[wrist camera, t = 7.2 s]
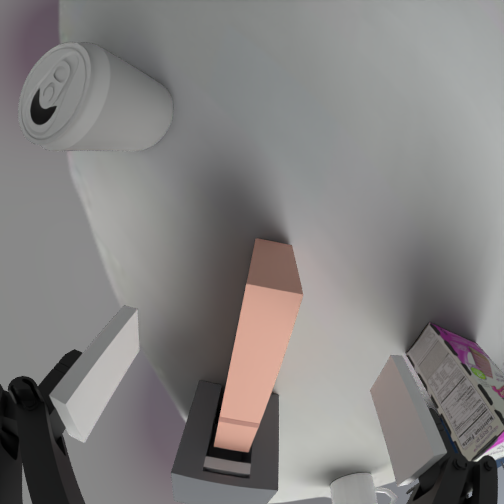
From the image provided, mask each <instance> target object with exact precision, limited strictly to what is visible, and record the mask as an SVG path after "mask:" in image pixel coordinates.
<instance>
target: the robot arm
mask: <svg viewBox="0 0 504 504" xmlns="http://www.w3.org/2000/svg"><path fill="white" fill-rule="evenodd" d="M138 352H139V333H138V309H136V308H132V307H129V306H126V305H124V306H123V307H122V308H121V309H120V310H119V312H118V313H117V314H116V315H115V316H114V317H113V318H112V320H111V321H110V322H109V323H108V324H107V325H106V326H105V328H104V329H103V330H102V331H101V332H100V333H99V335H98V336H97V337H96V338H95V339H94V340H93V341H92V343H91V344H90V345H89V346H88V348H87V349H86V350H85V351H84V352H83V353H82V352H80V351H77V350H75V349H74V350H72V351H71V352H69V353H67V354H65V356H63V357H62V359H61V360H60V361H59V363H57V364H56V366H55V367H54V369H52V370H51V371H50V373H49V374H48V375H47V376H46V377H45V379H44V380H43V381H42V382H41V383H40V385H39V386H37V384H36V383H35V381H34V380H33V379H31V378H29V377H25V376H21V377H17V378H15V379H13V380H12V381H11V383H10V384H9V386H8V391H9V392H7V391H4V390H3V388H2V386H1V384H0V504H23V503H22V463H23V467H24V473H25V477H26V481H27V485H28V490H29V493H30V497H31V500H32V504H85V502H84V500H83V497H82V495H81V492H80V489H79V487H78V484H77V481H76V478H75V475H74V472H73V469H72V466H71V462H70V459H69V456H68V452H67V448H66V445H65V441H64V437H63V435H62V433H63V432H64V430H65V429H66V430H67V432H68V433H69V435H70V436H72V437H74V438H76V439H78V440H80V441H82V442H84V443H85V441H86V440H87V438H88V436H89V434H90V432H91V431H92V429H93V427H94V425H95V424H96V422H97V420H98V418H99V417H100V415H101V413H102V411H103V410H104V408H105V406H106V405H107V403H108V401H109V400H110V398H111V396H112V395H113V393H114V391H115V389H116V388H117V386H118V384H119V383H120V381H121V380H122V378H123V376H124V375H125V373H126V371H127V370H128V368H129V366H130V365H131V363H132V362H133V360H134V358H135V357H136V355H137V354H138ZM370 392H371V395H372V398H373V401H374V405H375V408H376V411H377V414H378V417H379V421H380V424H381V427H382V431H383V434H384V438H385V441H386V445H387V449H388V452H389V456H390V460H391V463H392V467H393V471H394V475H395V479H396V483H397V486H402V485H407V484H411V483H412V482H413V481H414V480H416V479H417V478H418V479H419V483H418V484H416V485H415V486H414V487H412V488H411V489H409V490H408V491H407V494H408V493H410V492H411V491H413V492H412V494H411V496H410V498H409V500H408V502H407V504H497V497H498V479H497V478H498V476H497V463H496V461H495V459H494V458H493V457H492V456H489V455H485V456H483V457H482V458H481V459H480V460H479V461H468V460H467V459H466V457H465V456H464V455H462V454H459V453H455V452H454V449H453V447H452V445H451V442H450V440H449V438H448V435H447V433H446V431H444V426H443V424H442V422H441V420H440V418H439V416H438V414H437V413H436V412H435V411H434V410H433V409H432V408H429V409H428V407H427V405H426V402H425V400H424V398H423V396H422V394H421V392H420V390H419V388H418V386H417V384H416V382H415V380H414V378H413V376H412V374H411V372H410V370H409V368H408V366H407V364H406V362H405V360H404V358H403V357H402V356H399V355H390V357H389V359H388V361H387V363H386V364H385V366H384V368H383V370H382V371H381V373H380V375H379V376H378V378H377V380H376V381H375V383H374V385H373V386H372V388H371V390H370ZM471 491H472V496H471V497H470V498H469V496H468V495H469V493H470V492H471Z"/></svg>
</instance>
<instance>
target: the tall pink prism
mask: <svg viewBox="0 0 504 504" xmlns="http://www.w3.org/2000/svg"><path fill="white" fill-rule="evenodd" d="M302 297H303V291H302V287H301V282H300V278H299V274H298V269H297V265H296V261H295V256H294V252H293V248H292V245H288V244H283V243H278V242H273V241H268V240H263V239H258V238H256V239H255V244H254V249H253V254H252V259H251V264H250V268H249V273H248V278H247V283H246V288H245V293H244V298H243V303H242V308H241V313H240V318H239V323H238V328H237V333H236V338H235V343H234V348H233V353H232V358H231V362H230V367H229V372H228V377H227V382H226V387H225V392H224V397H223V401H222V406H221V411H220V416H219V422H218V427H217V432H216V437H215V442H214V447H219V448H224V449H229V450H235V451H242V452H249V449H250V447H251V445H252V442H253V440H254V437H255V435H256V432H257V430H258V428H259V425H260V422H261V419H262V417H263V414H264V411H265V409H266V406H267V403H268V400H269V398H270V395H271V392H272V389H273V387H274V384H275V381H276V378H277V375H278V372H279V370H280V367H281V364H282V361H283V358H284V355H285V352H286V349H287V346H288V343H289V339H290V336H291V333H292V330H293V327H294V324H295V321H296V317H297V314H298V311H299V307H300V304H301V301H302Z"/></svg>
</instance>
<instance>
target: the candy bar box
mask: <svg viewBox="0 0 504 504" xmlns="http://www.w3.org/2000/svg"><path fill="white" fill-rule="evenodd" d="M406 356H407V357H408V359H409V361H410V362H411V364H412V366H413V367H414V369H415V371H416V373H417V374H418V376H419V378H420V380H421V381H422V383H423V385H424V387H425V388H426V390H427V392H428V394H429V396H430V398H431V399H432V401H433V403H434V405H435V407H436V409H437V411H438V412H439V414H440V416H441V418H442V420H443V422H444V424H445V426H446V428H447V430H448V432H449V434H450V436H451V438H452V440H453V442H454V444H455V446H456V448H457V450H458V453H459V454H462V455H464V456H465V457H466V459H467V460H468V461H479V460H480V459H481V458H482V457H483V456H485V455H489V456H492V457H493V458H494V459H495V460H498V459H501V458H504V374H503V373H502V372H501V371H500V370H499V368H498V367H497V366H496V365H495V364H494V362H493V361H492V360H491V359H490V358H489V357H488V355H487V354H486V353H485V352H484V351H483V350H482V349H481V348H480V346H479V345H478V344H477V343H475V342H472V341H470V340H468V339H465V338H463V337H461V336H459V335H457V334H454V333H452V332H450V331H448V330H446V329H443V328H441V327H439V326H437V325H434V324H432V323H429V324H428V325H427V326H426V327H425V329H424V330H423V331H422V333H421V335H420V336H419V338H418V339H417V341H416V342H415V343H414V344H413V346H412V347H411V348H410V350H409V351H408V352H407V354H406Z"/></svg>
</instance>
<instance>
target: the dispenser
mask: <svg viewBox="0 0 504 504" xmlns="http://www.w3.org/2000/svg"><path fill="white" fill-rule="evenodd" d="M221 386H222V385H218V384H214V383H209V382H205V381H199V384H198V387H197V390H196V394H195V397H194V400H193V403H192V406H191V409H190V413H189V416H188V419H187V422H186V425H185V429H184V432H183V435H182V438H181V442H180V445H179V448H178V452H177V455H176V458H175V461H174V465H173V468H172V471H171V478H172V488H173V497H174V501H177V502H181V503H185V504H267V503H268V502H269V501H270V499H271V498H272V497H273V496H274V495H275V493H276V492H277V491H278V462H279V395H276V394H271V395H270V398H269V400H268V403H267V406H266V409H265V411H264V414H263V417H262V419H261V422H260V425H259V428H258V430H257V432H256V435H255V437H254V440H253V442H252V445H251V447H250V449H249V452H242V451H235V450H229V449H224V448H219V447H214V442H215V437H216V432H217V427H218V424H214V423H215V418H216V413H217V407H218V402H219V396H220V391H221Z"/></svg>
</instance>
